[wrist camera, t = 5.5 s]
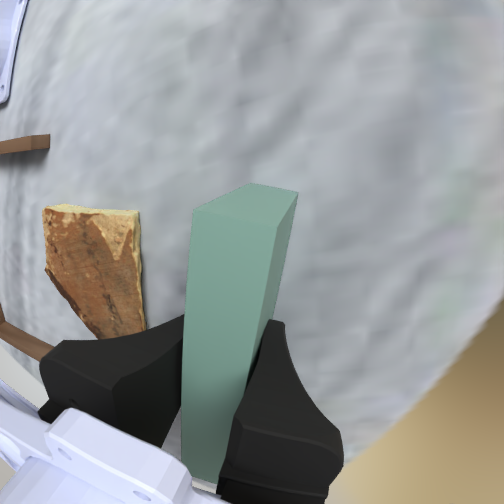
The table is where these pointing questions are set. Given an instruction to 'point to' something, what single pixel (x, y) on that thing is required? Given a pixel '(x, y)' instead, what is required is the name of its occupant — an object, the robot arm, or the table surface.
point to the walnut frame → (3, 329)
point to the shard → (97, 266)
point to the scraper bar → (228, 312)
